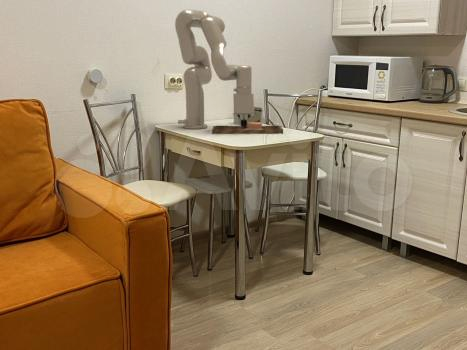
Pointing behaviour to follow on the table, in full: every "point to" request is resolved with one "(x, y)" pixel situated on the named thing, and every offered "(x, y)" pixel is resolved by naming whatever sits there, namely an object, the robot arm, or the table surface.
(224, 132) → the track
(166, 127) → the table surface
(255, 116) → the food container
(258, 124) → the block
